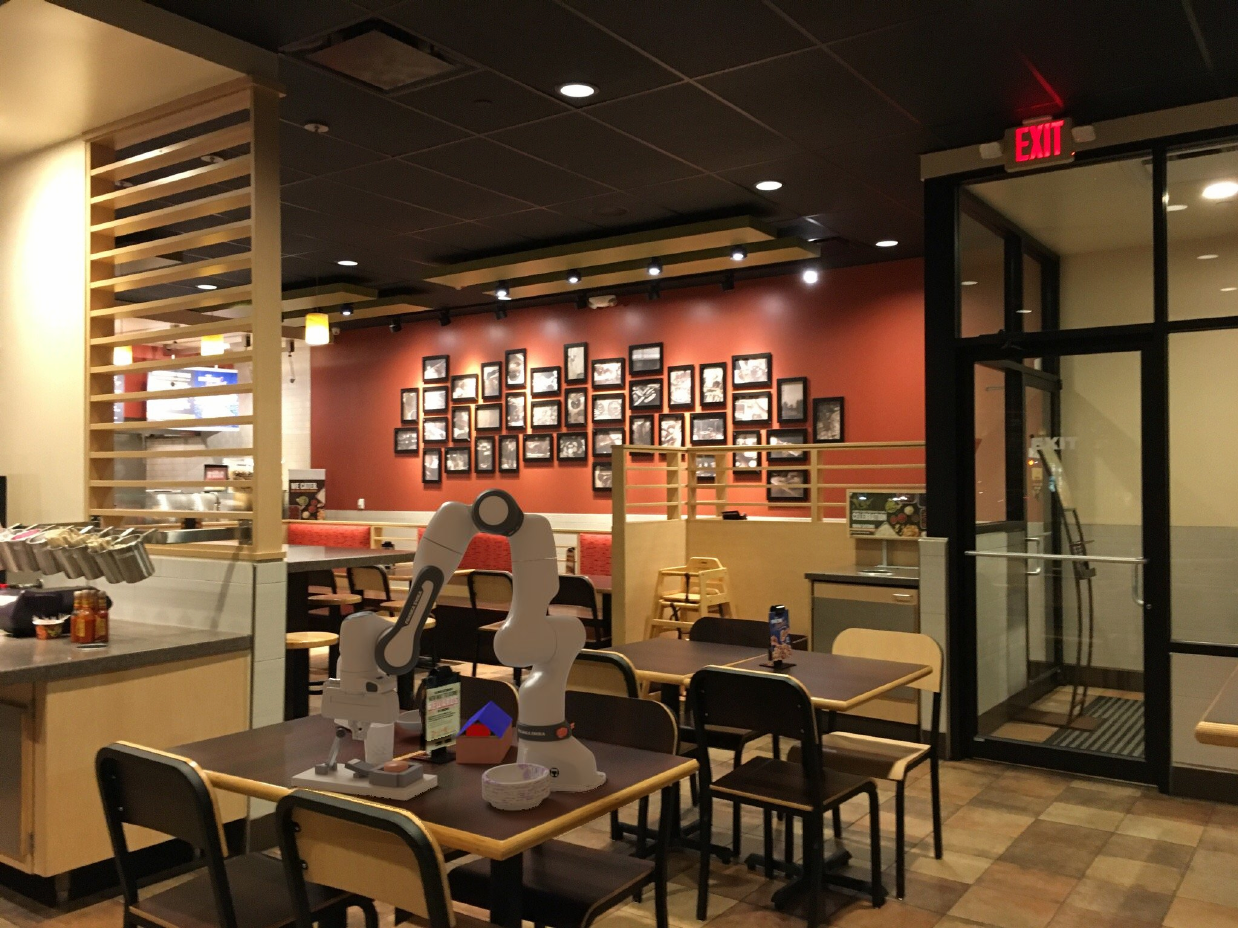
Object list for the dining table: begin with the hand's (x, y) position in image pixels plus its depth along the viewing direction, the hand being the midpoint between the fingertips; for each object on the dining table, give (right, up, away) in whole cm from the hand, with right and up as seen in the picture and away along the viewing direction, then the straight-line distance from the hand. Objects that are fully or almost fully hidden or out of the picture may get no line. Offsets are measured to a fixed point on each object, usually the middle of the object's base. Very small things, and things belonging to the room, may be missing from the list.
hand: (359, 739), depth 242 cm
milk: (-15, -12, +62) cm, 65 cm away
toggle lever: (-9, -9, +4) cm, 13 cm away
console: (+1, -12, 0) cm, 12 cm away
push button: (+9, -8, -4) cm, 13 cm away
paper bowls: (+39, -12, -15) cm, 43 cm away
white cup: (-1, -12, +22) cm, 25 cm away
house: (+26, -12, +29) cm, 41 cm away
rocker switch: (0, -7, 0) cm, 7 cm away
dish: (+5, -12, +50) cm, 51 cm away
